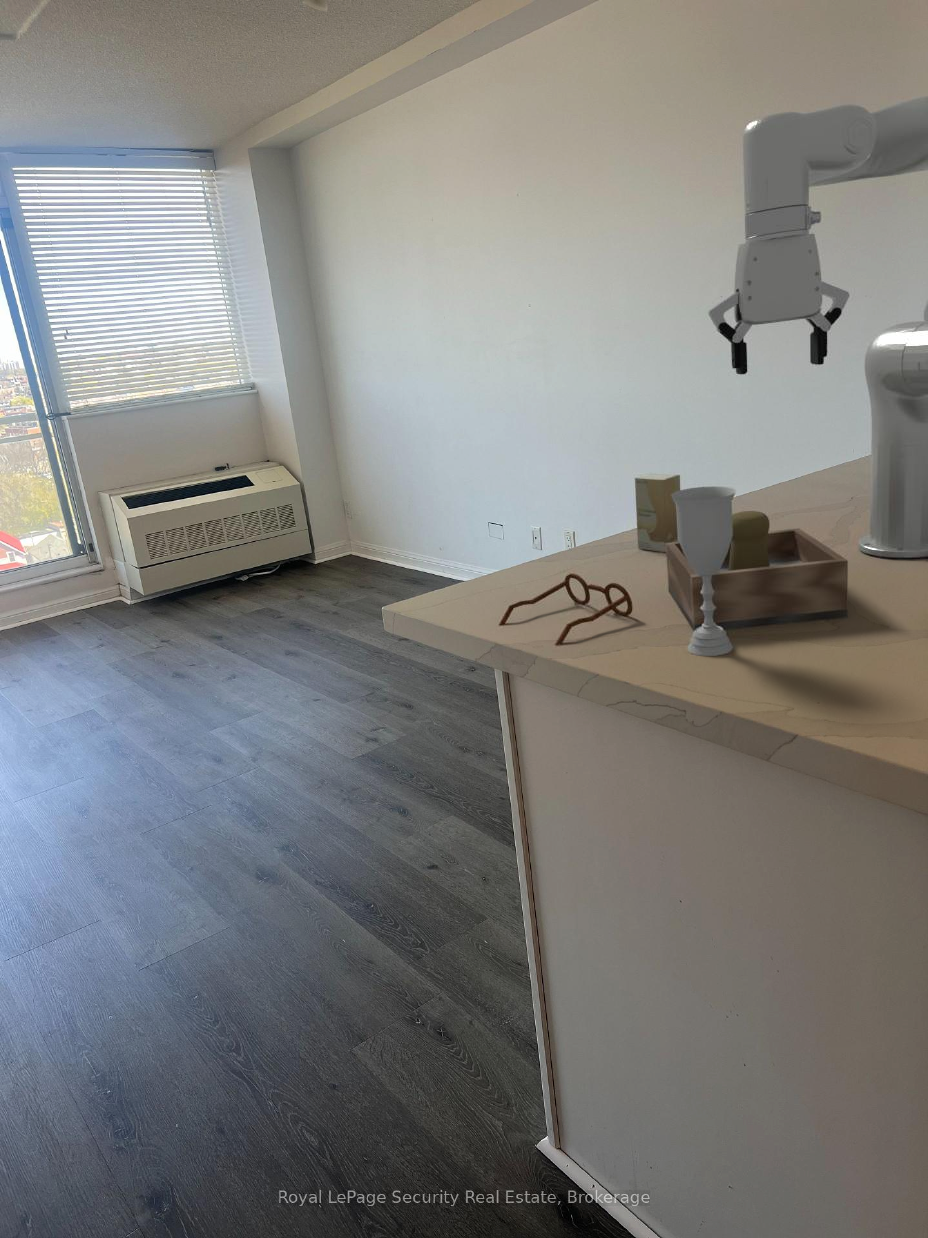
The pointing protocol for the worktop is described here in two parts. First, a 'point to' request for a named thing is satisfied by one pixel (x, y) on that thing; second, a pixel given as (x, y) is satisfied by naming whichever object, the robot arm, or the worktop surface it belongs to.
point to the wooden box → (766, 585)
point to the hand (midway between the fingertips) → (779, 368)
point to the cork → (749, 541)
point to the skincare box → (656, 510)
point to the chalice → (706, 553)
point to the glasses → (579, 602)
